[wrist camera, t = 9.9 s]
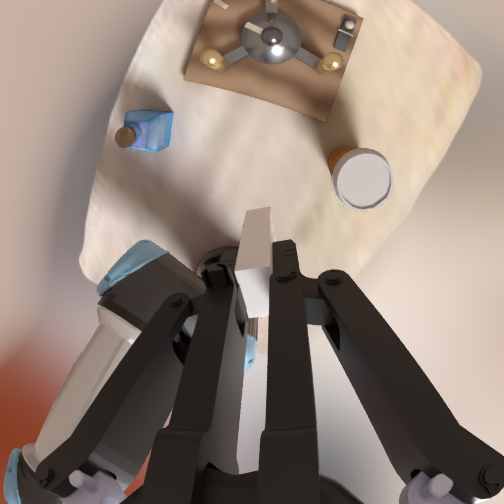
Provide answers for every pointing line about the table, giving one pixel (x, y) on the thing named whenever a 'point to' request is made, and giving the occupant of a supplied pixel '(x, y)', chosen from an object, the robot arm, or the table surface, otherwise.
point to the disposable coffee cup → (360, 178)
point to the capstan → (271, 44)
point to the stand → (285, 74)
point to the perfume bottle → (145, 130)
